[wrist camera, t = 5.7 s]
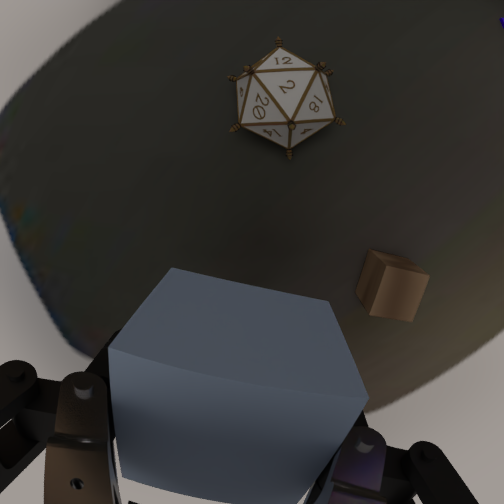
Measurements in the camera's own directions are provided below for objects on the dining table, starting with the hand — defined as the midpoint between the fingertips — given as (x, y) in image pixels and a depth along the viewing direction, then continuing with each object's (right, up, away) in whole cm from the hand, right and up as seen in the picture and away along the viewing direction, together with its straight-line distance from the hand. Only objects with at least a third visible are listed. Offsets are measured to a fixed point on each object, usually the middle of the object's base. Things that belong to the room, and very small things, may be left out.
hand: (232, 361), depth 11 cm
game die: (+3, +17, +14) cm, 22 cm away
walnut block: (+13, +2, +18) cm, 23 cm away
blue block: (0, 0, +1) cm, 1 cm away
